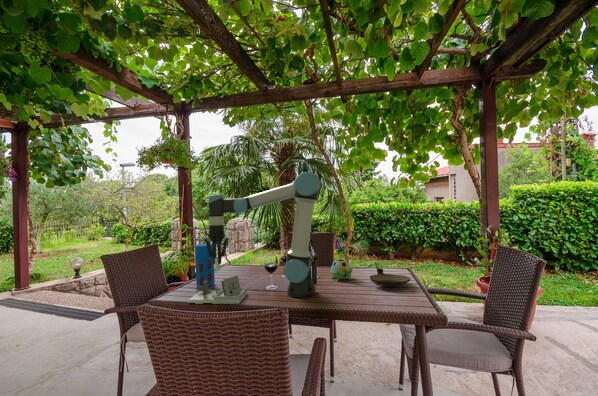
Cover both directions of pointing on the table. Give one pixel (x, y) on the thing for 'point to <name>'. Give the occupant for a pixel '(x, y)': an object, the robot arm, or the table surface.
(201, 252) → the blue tall box
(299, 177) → the robot arm
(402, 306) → the table surface
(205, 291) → the breaker tagged
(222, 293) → the board
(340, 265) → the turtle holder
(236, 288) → the electrical switch
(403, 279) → the oil lamp
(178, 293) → the table surface
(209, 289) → the breaker off
